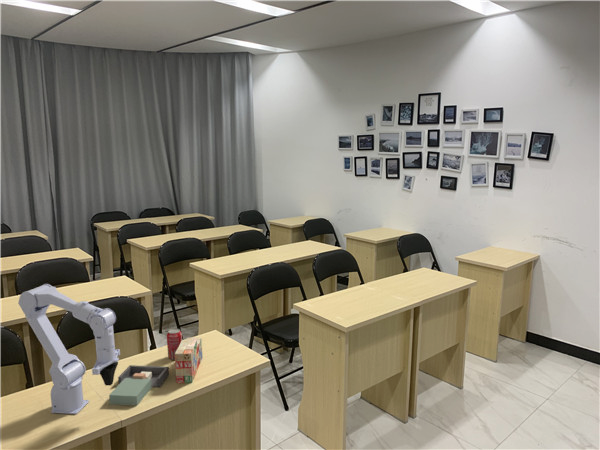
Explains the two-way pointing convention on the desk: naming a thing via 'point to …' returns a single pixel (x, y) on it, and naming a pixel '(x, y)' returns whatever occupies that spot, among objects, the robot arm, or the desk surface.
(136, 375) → the terracotta tile
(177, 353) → the stack of blocks
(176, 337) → the beverage can
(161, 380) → the tray
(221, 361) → the desk surface
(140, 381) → the sage green slab
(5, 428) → the desk surface
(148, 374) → the cream tile
